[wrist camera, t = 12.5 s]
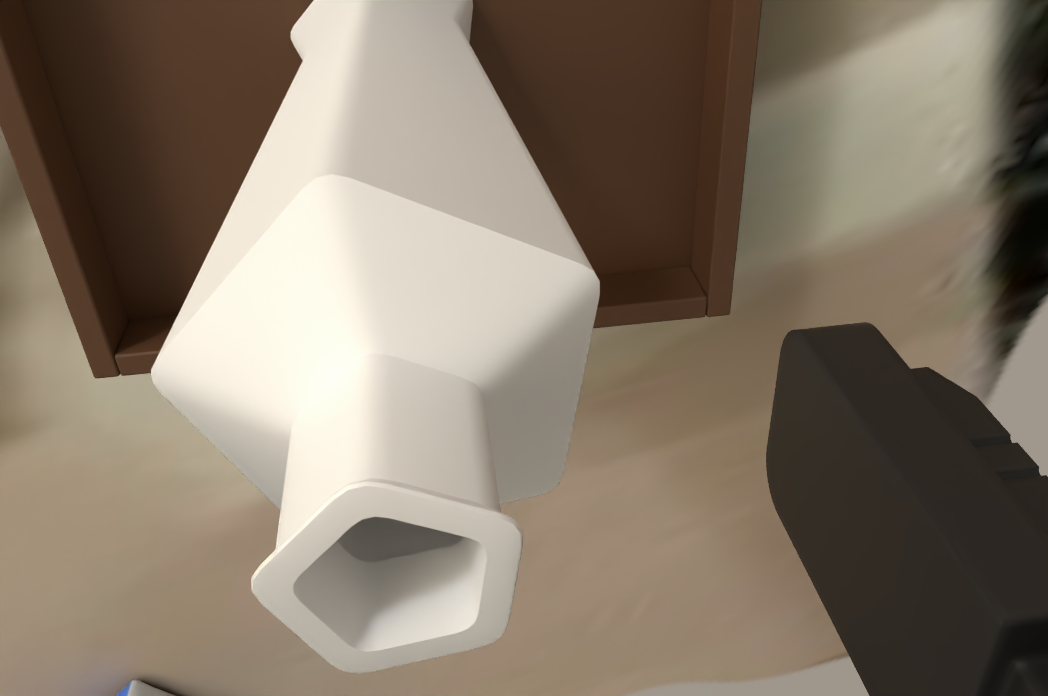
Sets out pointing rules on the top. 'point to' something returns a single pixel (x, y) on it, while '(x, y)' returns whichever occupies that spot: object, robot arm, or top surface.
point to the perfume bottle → (388, 337)
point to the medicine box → (141, 690)
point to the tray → (260, 87)
